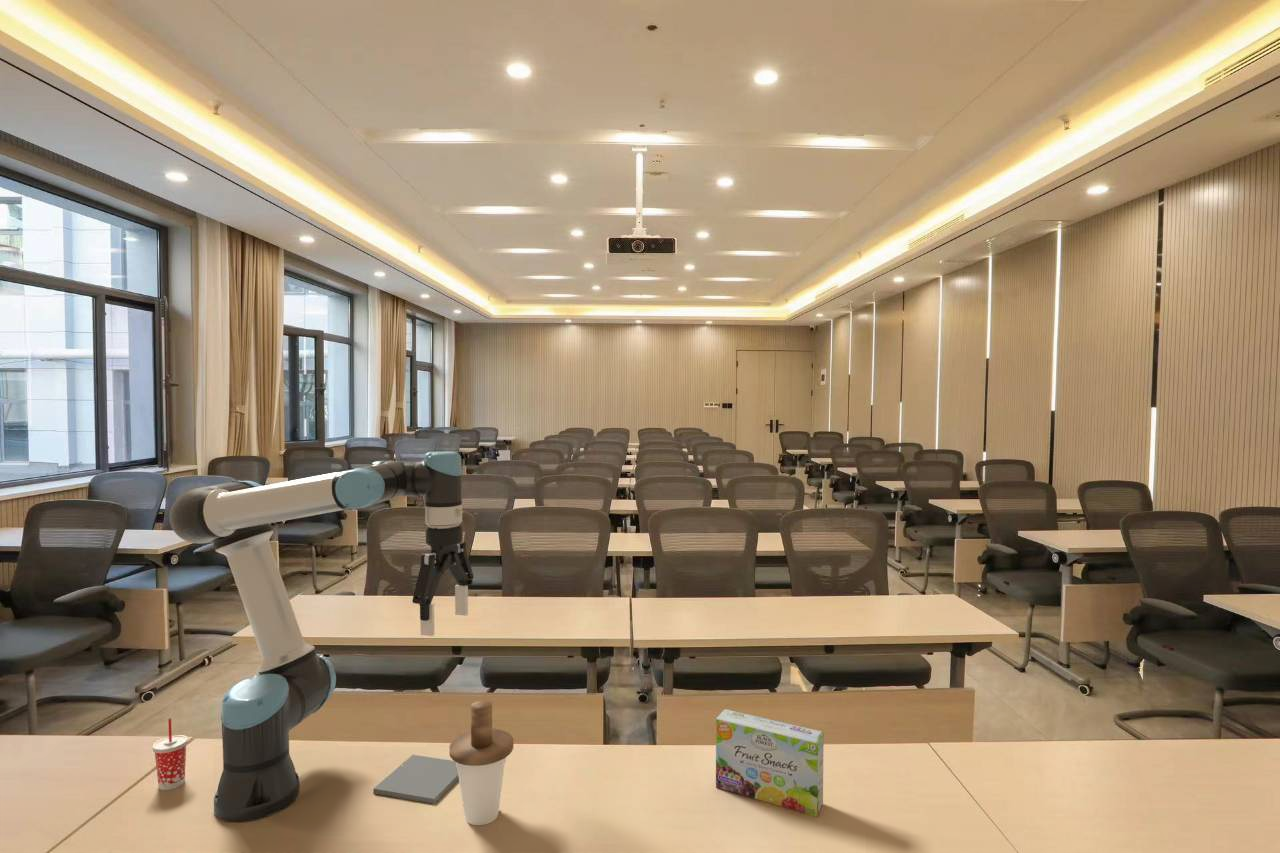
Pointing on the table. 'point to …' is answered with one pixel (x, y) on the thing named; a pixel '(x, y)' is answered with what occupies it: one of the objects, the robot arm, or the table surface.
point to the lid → (481, 739)
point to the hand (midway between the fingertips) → (445, 624)
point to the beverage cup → (170, 760)
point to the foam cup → (481, 791)
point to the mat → (419, 779)
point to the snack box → (770, 761)
